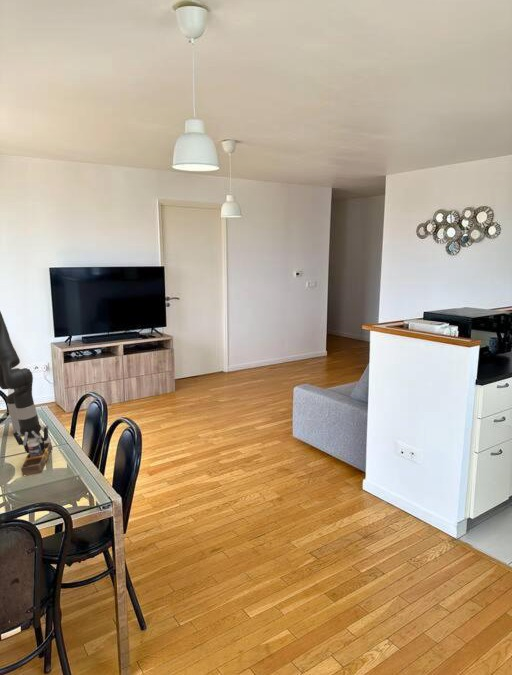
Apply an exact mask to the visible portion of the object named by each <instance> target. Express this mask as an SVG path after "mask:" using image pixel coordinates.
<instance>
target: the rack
mask: <svg viewBox="0 0 512 675" xmlns="http://www.w3.org/2000/svg"><path fill="white" fill-rule="evenodd" d="M44 443H45V449H44V450H43V455H42V456H38V457H32V458H30V454H29V453H27V455H26V457H25V458H24V462H23V463H22V466H21V467H20V471H21V474H22V477H24V475H26V476H30V475H36V474H37V475H38V474H41V473H43V471H44V469H45V466H46V464H47V462H48V460H49V458H48V457H50V456H49V455H51V454H50V453H52V452H51V450H52V451H53V445H52V442H51V441H49V442H44ZM47 459H48V460H47Z"/></svg>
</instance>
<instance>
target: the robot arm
mask: <svg viewBox="0 0 512 675" xmlns="http://www.w3.org/2000/svg"><path fill="white" fill-rule="evenodd" d="M20 363H21V360H20V358H19V355H18V354H17V351H16V348H14V345H13V343H12V340H11V337H10V333H9V331H8V327H7V325H6V322H5V319H4V317H3V315H2V312H1V311H0V388H1V389H2V390H14V389H16V388H18V389H17V390H16V391H15V392H14V391H13V392H11V393H9V394H8V395H7V396H6V398H5V401H6V404H7V409H8V413H9V417H10V420H11V421H10V422H11V425H12V429H13V437H14V439H15V441H16V442H17V444H18V446H21V445H22V446H23V448H24V452H25V453H27V454H28V453H29V450H28V446H27V445H28V443H29V442H28V438H31V437H36V439H38V440H39V442H40V447H41V451H43V450H44V449H45V443H46V441H47V440H48V438H49V426H48V425H45V426H42V425H41V424H40V421H39V417H38V411H37V409H36V406H35V405H36V404H35V401H34V398H33V381H34V380H33V379H34V376H33V372H32V371H31V370H30V369H29V368H26V367H25V368H17V366H18V365H19V364H20ZM15 367H16V368H15ZM41 432H43V435H42V433H41ZM22 437H23V439H22Z"/></svg>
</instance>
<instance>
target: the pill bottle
mask: <svg viewBox="0 0 512 675" xmlns="http://www.w3.org/2000/svg"><path fill="white" fill-rule="evenodd" d="M27 443H28V445H27V446H28V450H29V454H30V458H32V457H38V456H42V455H43V451H41V447H40V442H39V440H38V439H36V437H31V438H28V442H27Z"/></svg>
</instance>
